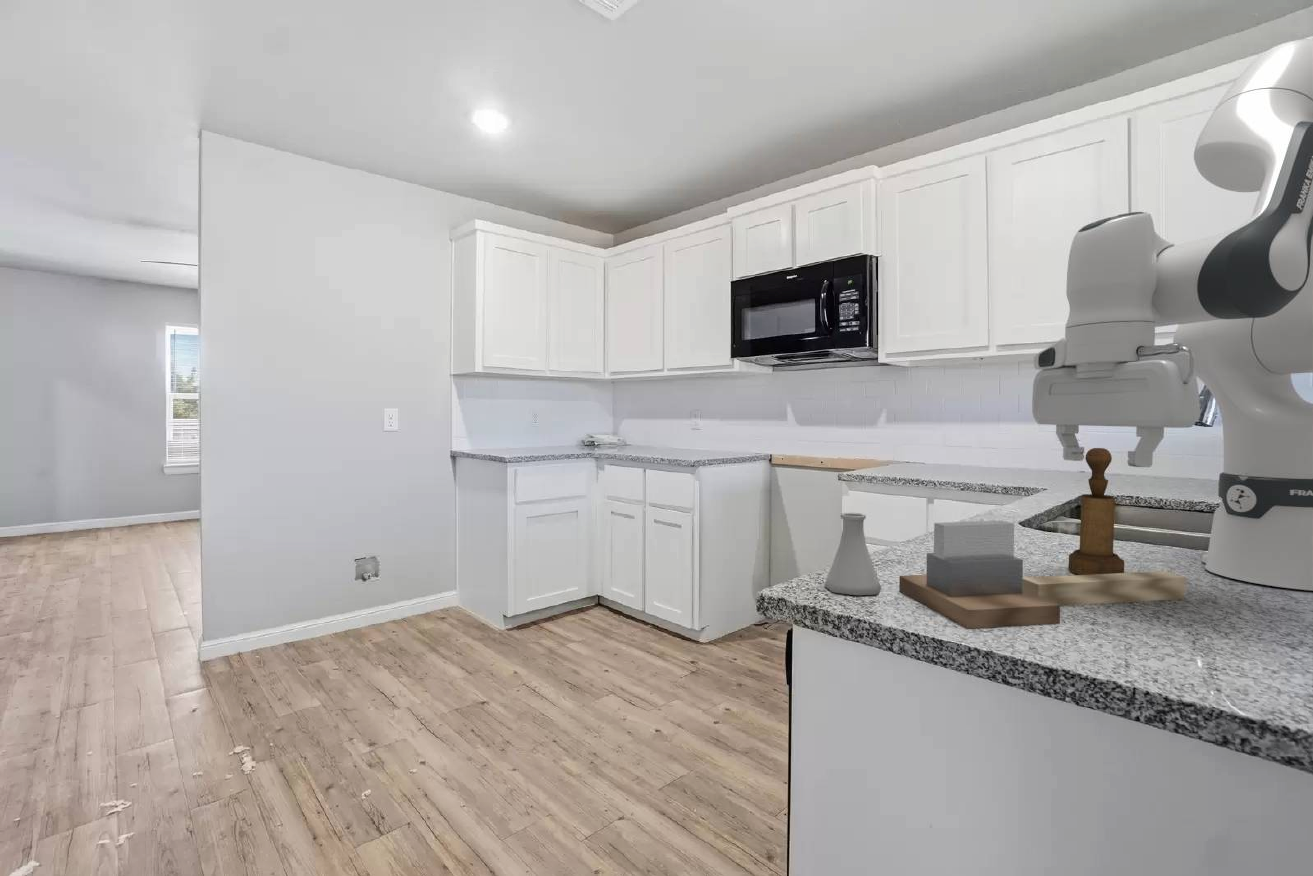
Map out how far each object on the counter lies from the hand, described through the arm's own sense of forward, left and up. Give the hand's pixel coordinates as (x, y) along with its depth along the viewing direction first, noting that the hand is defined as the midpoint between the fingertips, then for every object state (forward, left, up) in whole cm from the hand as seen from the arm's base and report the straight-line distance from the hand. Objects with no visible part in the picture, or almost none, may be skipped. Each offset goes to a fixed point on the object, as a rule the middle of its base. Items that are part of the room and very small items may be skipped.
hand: (1104, 463), depth 75 cm
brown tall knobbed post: (-9, -10, -17) cm, 22 cm away
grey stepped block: (+17, 0, -15) cm, 23 cm away
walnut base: (+17, 0, -17) cm, 24 cm away
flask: (+28, -9, -17) cm, 34 cm away
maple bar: (0, 0, -17) cm, 17 cm away
